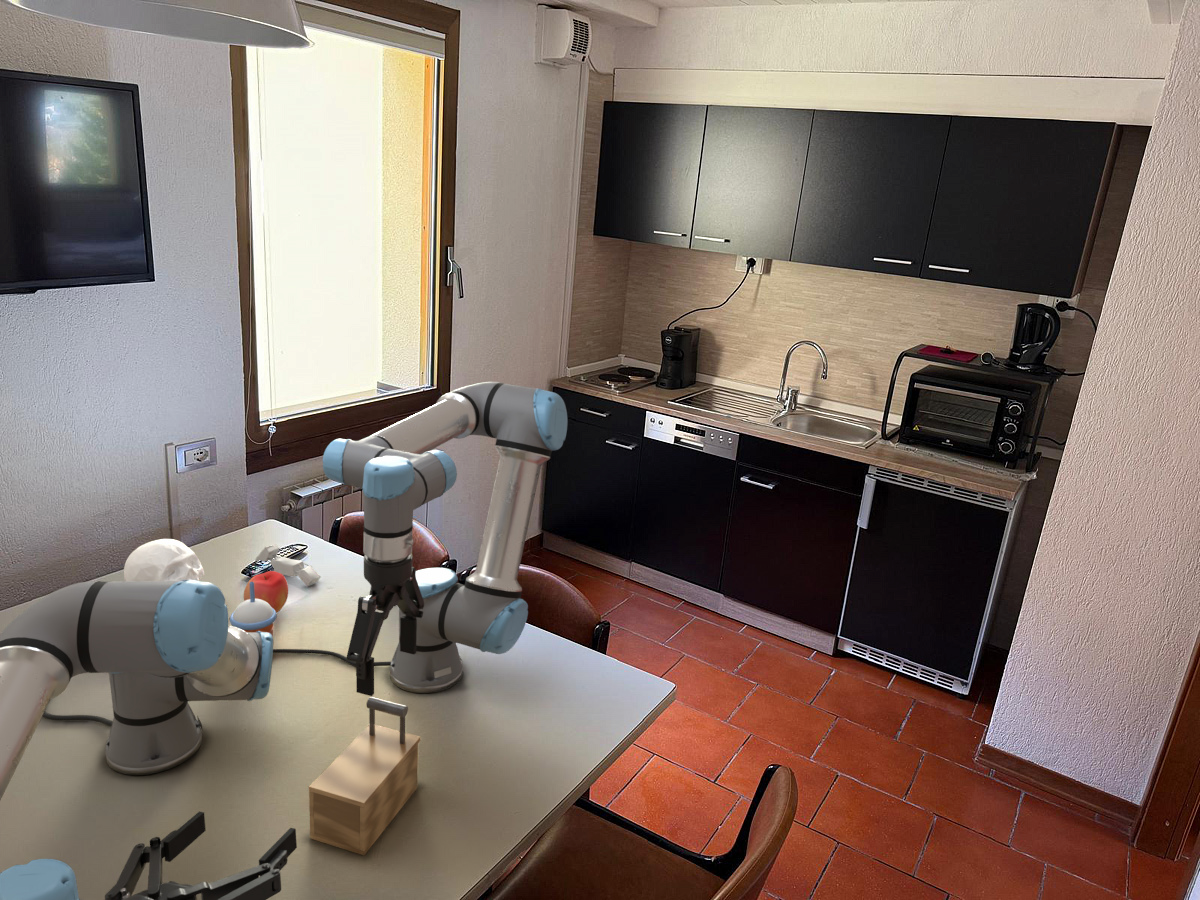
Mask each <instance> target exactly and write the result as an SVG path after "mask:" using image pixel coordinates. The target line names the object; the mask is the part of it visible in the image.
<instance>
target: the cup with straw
mask: <svg viewBox="0 0 1200 900" xmlns="http://www.w3.org/2000/svg"><path fill="white" fill-rule="evenodd" d="M249 584H250V599H249V600H246V601H244V600H243V601H242V602H240V603H239V604H238V605H237V606H236V608H235V609H234V610H233V612H232V613H230V616H229V623H230V626H233V627H237V628H239V629H242V630H244V631H245V632H256V631H260V632H268V633H270V634H272V636H273V637H274V629H275V625H274V623H275V621H276V620H277V617H278V616H277V613H276V611H275V610H274V609H273V608H272V607H271V606H270V605H269V604H268V603H267V602H266V601H264V600H261V599H255V592H254V582H250V583H249Z"/></svg>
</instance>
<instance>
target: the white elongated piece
mask: <svg viewBox="0 0 1200 900" xmlns="http://www.w3.org/2000/svg"><path fill="white" fill-rule="evenodd" d="M280 549H281V547H279V546H278V545H277V544H272V545H266V546H264V547H263V549H262V550H261V551H260V552H259V554H258V555H257V556H256V557H255V559H254V562H255V563H256V561H259V560H262V561H268V560H271V562H270V563H269V564H271V565H272V566H273V568H274V571H275V572H278V573H281V574H282V575H283V576H288V577H292V578H296V577H298V578H299V579H300V580H301V582H303V584H304V585H305V587H309V586H312V585H314V584H316V583H318V582H319V580H320V579H321V578H322V577H321V575H320V574H319V573H318V572H317V570H315V569H314V568H313V566H312V565H310V564H309V565H308V564H307V563H305V562H304V561H303V560H301V559H300V560H299V559H292V558H289V557H285V556H278V553H279V551H280ZM273 558H274V559H273ZM272 559H273V560H272ZM305 566H306V567H305ZM270 571H271V570H270Z"/></svg>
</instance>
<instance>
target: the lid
mask: <svg viewBox="0 0 1200 900" xmlns="http://www.w3.org/2000/svg"><path fill="white" fill-rule="evenodd" d="M366 708H367V709H368V713H369V715H368V719H369V721H368V723H369V724H367V726H366V727H365V728H364V729H363V730H362V731H361V732H360V733H359V734H358V735H357V736H356V737H355V738H354V739H353V740H352V741H351V743H349V745H348V746H346V747H345V749H343V750H342V752H341V753H340V754H339V755H337V756H336V758H335V759H333V761H332V762H331V763H329V765H328V766H327V767H326V768H325V769H324V770H323V771H322V772H321V773H320V774H319V775H318V776H317V777H316V778H315V779H314V780H313V782H311V784H310V785H309V786H308V792H309V791H311V792H314V793H318V794H321V795H324V796H328V797H331V798H334V799H337V800H341V801H344V802H347V803H351V804H354V805H357V806H361V807H365V806H366V805H367V803H368V802H369V801H370V800H371V799H372V798H373V796H374V795H375V794H376V793H377V792H378V790H379V789H380V788H381V787H382V786H383V785H384V783H385V782H386V781H387V780H388V779H389V777H390V776H391V775H392V774H393V773H394V772H395V770H396V769H397V768H398V767H399V766H400V764H401V763H402V762H403V761H404V760H405V759H406V757H407V756H408V755H409V754H410V753H411V751H412V750H413V749H414V748H415V747H416V746H417V744H418V745H419V743H421V741H422V738H421V736H419V735H416V734H412V733H408V732H406V716H407V715H408V712H409V706H408V705H405V704H401V703H399V702H394V701H391V700H386V699H382V698H378V697H374V696H369V697H368V698H367V701H366ZM376 711H377V712H381V713H385V714H388V715H391V716H396V717H399V730H397V729H394V728H390V727H386V726H383V725H379V724H376Z"/></svg>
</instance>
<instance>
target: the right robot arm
mask: <svg viewBox="0 0 1200 900" xmlns="http://www.w3.org/2000/svg"><path fill="white" fill-rule="evenodd" d="M567 431H568V411H567V407H566V403H565V401H564V399H563V398H562V396H560V395H559V394H558V393H556V392H553V391H549V390H546V389H543V388H537V387H536V388H535V387H529V386H523V385H516V384H509V383H504V382H499V381H485V382H484V381H483V382H478V383H477V382H476V383H473V384H470V385H469V384H468V385H465V386H462V387H459V388H456V389H453V390H451V391H450V392H447V393H445V394H442V395H441V396H440V397H439V398H438V399H437V400H436V403H435V404H433V405H432V406H429V407H427V408H425V409H423V410H421V411H419V412H416V413H415V414H413V415H410V416H409V417H406V418H404V419H402V420H400V421H397V422H396V423H394V424H391V425H390V426H388V427H385V428H383V429H381V430H379V431H377V432H375V433H373V434H371V435H369V436H367V437H364V438H362V439H359V440H352V439H351V438H347V439H345V438H336V439H334V440H332V441H331V442H330V443H329V444H328V445H327V446H326V448H325V450H324V452H323V456H322V470H323V473H324V475H325V476H326V478H328V480H330V481H333V482H336V483H339V484H341V485H342V484H343V485H344V486H351V487H355V488H360V489H362V492H363V494H362V496H363V497H362V499H363V540H362V541H363V548H362V549H363V550H362V552H363V554H364V556H363V577H364V579H365V580H366V581H367V582H368V583H369V585H370V590H369V594H368V596H362V595H361V596H359V597H358V600H357V612H356V616H355V620H354V625H353V629H352V633H351V637H350V641H349V645H348V650H347V653H346V656H345V655H343V654H340V653H338V652H335V651H329V650H323V649H309V648H308V649H307V648H305V649H303V648H302V649H301V648H273V654H314V655H325V656H329V657H334V658H338V659H339V660H341V661H343V662H344V663H347V664H349V665H351V666H354V667H355V676H356V677H355V679H356V680H355V681H356V683H355V684H356V693H358V694H361V695H365V696H368V697H373V696H374V695H375V667H389V679H390V681H391V682H392V683H393V684H394V685H395V686H396V687H398V688H399V689H401V690H404V691H407V692H410V693H416V694H430V693H431V694H432V693H438V692H441V691H445V690H447V689H450V688H451V687H453V686H455V685H456V684H457V683H458V682H459V681H460V680H461V679H462V676H463V672H464V664H463V660H462V657H461V656H460V653H459V649H458V646H457V644H459V645H463V646H466V647H470V648H473V649H477V650H479V651H481V652H482V653H485V652H487V653H491V654H495V655H502V654H505V653H507V652H509V651H510V650H511V649H512V648H513V647H514V646H515V645H516V643H517V642H518V640H519V639H520V637H521V635H522V634H523V631H524V629H525V626H526V623H527V620H528V615H529V610H528V609H529V605H528V603H527V601H526V600H525V599H523V598H521V597H522V593H523V588H522V586H521V585H520V582H519V581H518V576H519V571H520V567H521V562H522V557H523V552H524V548H525V543H526V539H527V533H528V529H529V525H530V521H531V517H532V516H531V515H532V510H533V506H534V501H535V496H536V491H537V487H538V483H539V478H540V473H541V468H542V465H543V464H544V463H546V462H547V461H549V460H550V459H551V457H552V452H553V451H558V450H560V449H561V448H562V447H563V445H564V442H565V441H566V437H567ZM468 436H481V437H488V438H492V439H496V440H495V445H494V448H495V450H496V451H497V453H498V455H499V461H498V465H497V470H496V475H495V479H494V484H493V489H492V493H491V498H490V503H489V506H488V512H487V516H486V520H485V521H486V522H485V525H484V531H483V535H482V540H481V542H480V543H481V544H480V548H479V553H478V559H477V563H476V567H475V570H474V572H473V573H471V574H469V576H467V577H466V578H465V582H464V584H462V583H460V582H459V581H458V580H459V579H458V575H457V573H456V572H455V571H454V570H453V569H450V568H446V567H428V568H421V569H418V570H417V569H416V567H414V566H413V545H414V543H415V540H414V539H413V529H414V511H415V510H416V509H418V508H420V507H422V506H423V505H425V504H428V503H429V502H432V501H434V500H435V499H437V498H438V499H439V498H440V497H442V496H443V495H444V494H445V493H446V492H448V491H450V489H452V488H453V486H454V485H455V483H456V482H457V476H458V471H457V465H456V464H455V461H454V460H453V458H452V457H451V456H450V455H449V454H448V453H446V452H444V451H442V450H437V449H436V448H438V447H440V446H442V445H444V444H446V443H448V442H450V441H451V440H453V439H458V440H459V439H465V438H467V437H468ZM411 553H412V554H411ZM395 607H397V608H398V643H397V645H396V648H395V651H394V653H393V656H392V659H391V660H390V661H375V657H373V656H372V655H373V652H374V649H375V646H376V644H377V641H378V639H379V636H380V632H381V629H382V627H383V624H384V621H385V620H387V619H388V618H389V615H390V612H391V611H392V610H393V609H394V608H395Z"/></svg>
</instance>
